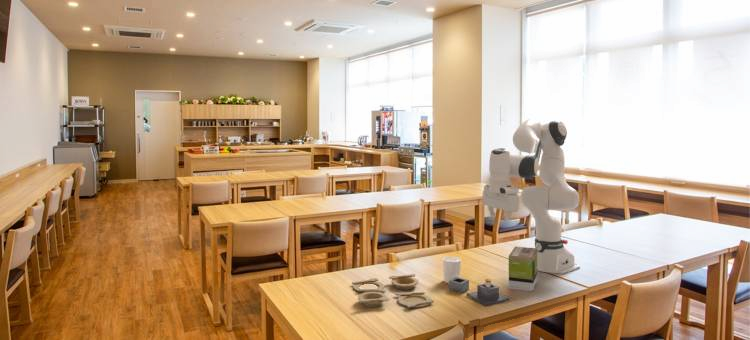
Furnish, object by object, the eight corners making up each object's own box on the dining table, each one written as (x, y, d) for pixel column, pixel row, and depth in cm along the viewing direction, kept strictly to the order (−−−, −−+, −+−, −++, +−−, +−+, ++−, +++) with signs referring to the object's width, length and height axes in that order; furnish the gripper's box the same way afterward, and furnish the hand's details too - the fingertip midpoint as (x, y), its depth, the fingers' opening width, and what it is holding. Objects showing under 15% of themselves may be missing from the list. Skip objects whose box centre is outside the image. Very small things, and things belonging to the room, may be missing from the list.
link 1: (456, 286, 208) (456, 277, 208) (468, 289, 204) (469, 280, 204) (448, 290, 204) (449, 280, 203) (461, 293, 200) (461, 283, 199)
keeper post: (490, 290, 202) (491, 273, 201) (509, 300, 191) (510, 282, 190) (466, 295, 197) (466, 277, 196) (484, 306, 186) (485, 286, 185)
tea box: (514, 277, 218) (515, 245, 216) (537, 280, 213) (538, 247, 212) (507, 288, 204) (508, 254, 203) (532, 292, 200) (533, 257, 198)
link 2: (489, 292, 198) (489, 282, 197) (498, 297, 192) (499, 287, 192) (477, 294, 196) (477, 284, 195) (486, 299, 190) (486, 289, 190)
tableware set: (437, 309, 185) (437, 299, 184) (360, 315, 180) (360, 305, 180) (414, 278, 219) (414, 270, 219) (350, 283, 215) (350, 274, 214)
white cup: (460, 284, 210) (460, 262, 208) (442, 283, 211) (442, 261, 210) (461, 278, 217) (461, 257, 216) (443, 277, 219) (443, 256, 218)
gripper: (478, 184, 215) (478, 214, 217) (509, 191, 197) (509, 224, 199) (490, 182, 218) (490, 213, 220) (521, 189, 200) (521, 222, 202)
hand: (499, 218), depth 209 cm, fingers open, 8 cm apart
